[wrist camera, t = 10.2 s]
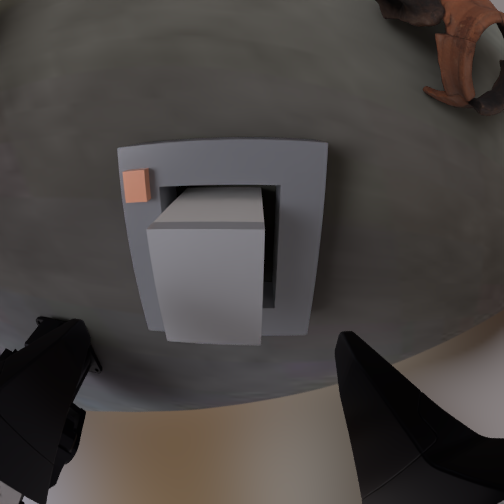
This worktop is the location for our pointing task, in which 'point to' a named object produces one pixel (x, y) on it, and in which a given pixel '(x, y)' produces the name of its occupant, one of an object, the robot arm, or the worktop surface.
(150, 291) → the socket block
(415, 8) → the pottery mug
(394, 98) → the worktop surface
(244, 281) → the plug
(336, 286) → the worktop surface
